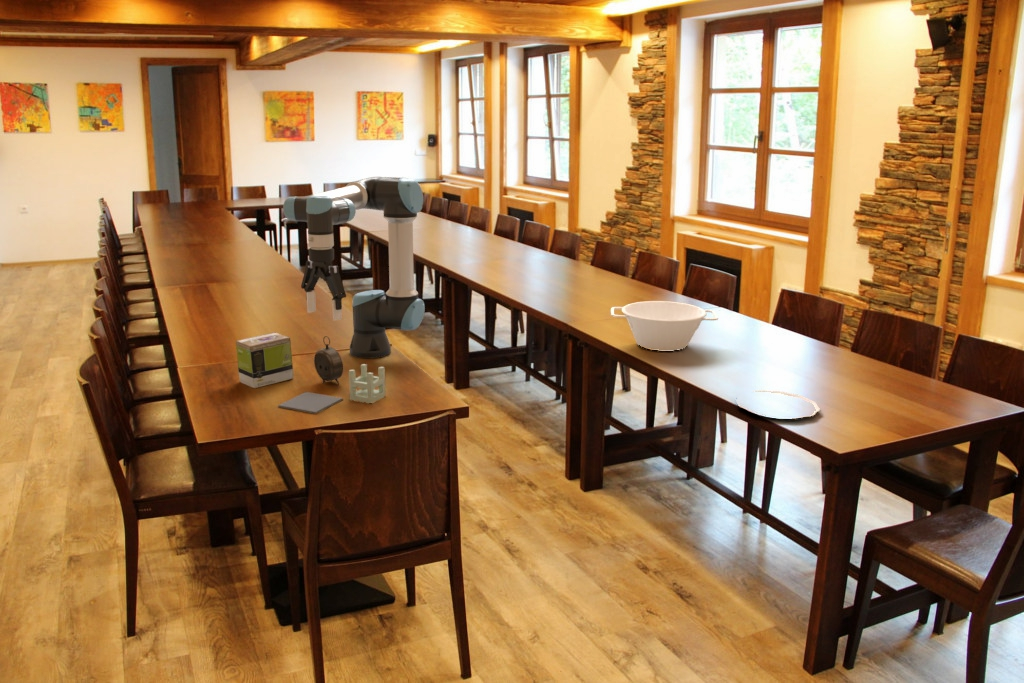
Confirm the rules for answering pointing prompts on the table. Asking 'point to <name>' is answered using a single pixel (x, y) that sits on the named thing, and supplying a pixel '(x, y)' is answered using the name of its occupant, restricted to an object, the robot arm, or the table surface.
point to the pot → (663, 323)
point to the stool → (367, 385)
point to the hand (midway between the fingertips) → (324, 316)
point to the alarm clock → (328, 363)
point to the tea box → (264, 359)
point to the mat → (310, 402)
